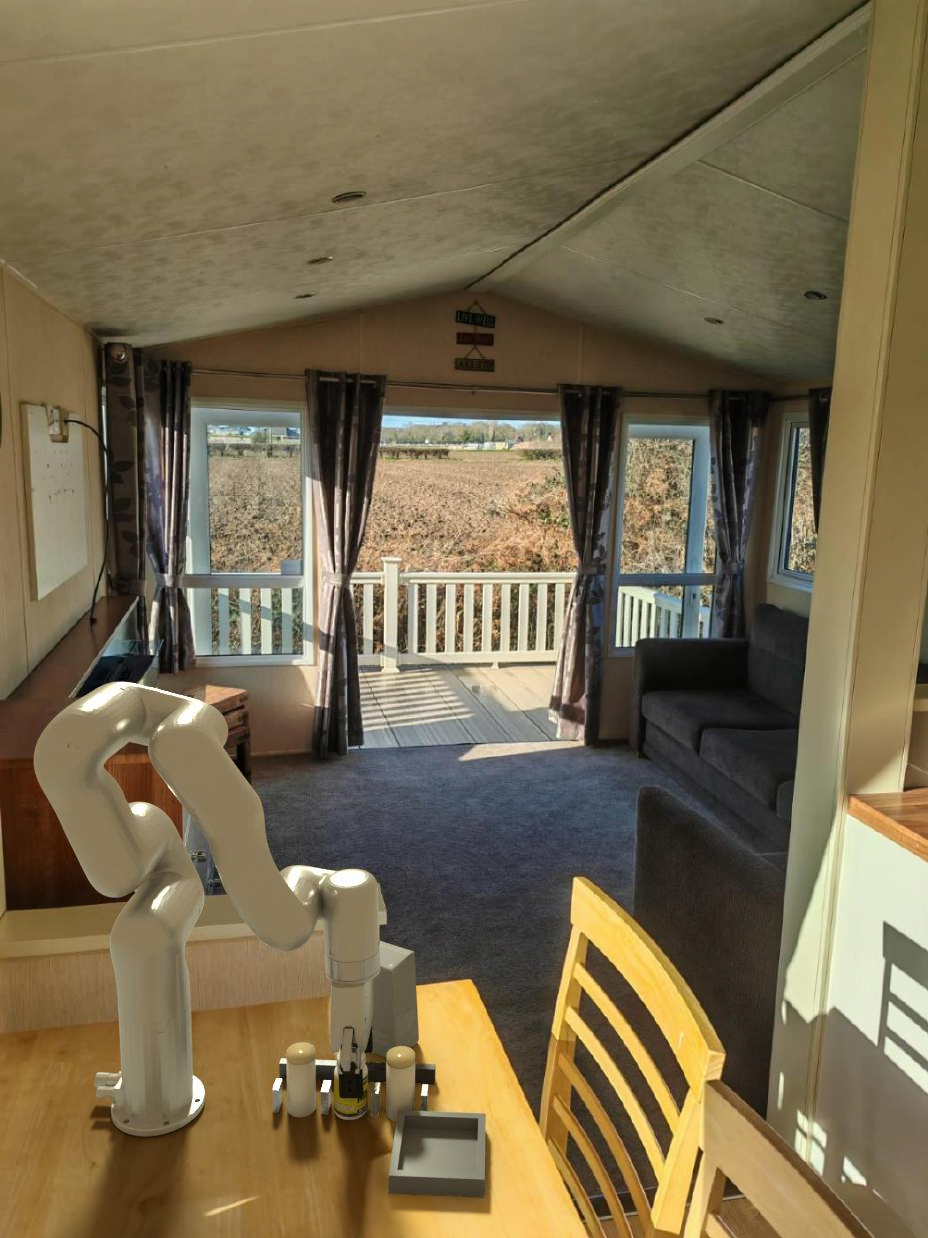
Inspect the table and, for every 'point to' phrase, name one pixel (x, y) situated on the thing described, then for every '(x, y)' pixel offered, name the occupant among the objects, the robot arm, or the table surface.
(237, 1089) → the table surface
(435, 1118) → the tray
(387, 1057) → the cylinder
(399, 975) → the skincare box
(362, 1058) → the supplement bottle
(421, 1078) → the clip rail
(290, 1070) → the ball
